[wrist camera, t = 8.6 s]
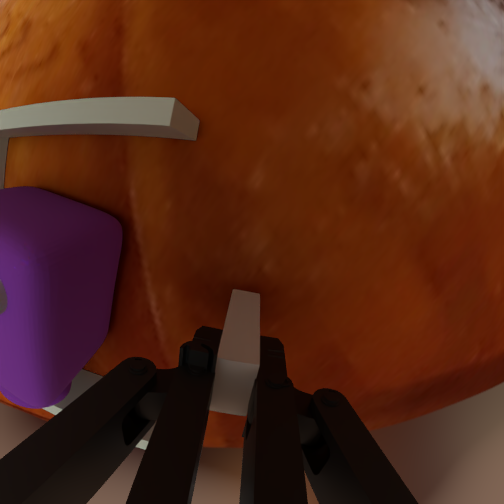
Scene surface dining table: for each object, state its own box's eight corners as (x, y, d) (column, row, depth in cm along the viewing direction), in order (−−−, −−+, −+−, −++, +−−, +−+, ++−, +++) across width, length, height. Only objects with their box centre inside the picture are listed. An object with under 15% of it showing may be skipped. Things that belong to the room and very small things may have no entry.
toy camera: (32, 341, 19) (-35, 401, 10) (17, 183, 16) (-86, 200, 6) (135, 376, 19) (80, 474, 10) (134, 190, 16) (12, 212, 6)
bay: (3, 123, 15) (-40, 120, 10) (199, 120, 15) (175, 97, 10) (12, 346, 20) (-17, 371, 15) (171, 406, 20) (155, 452, 15)
